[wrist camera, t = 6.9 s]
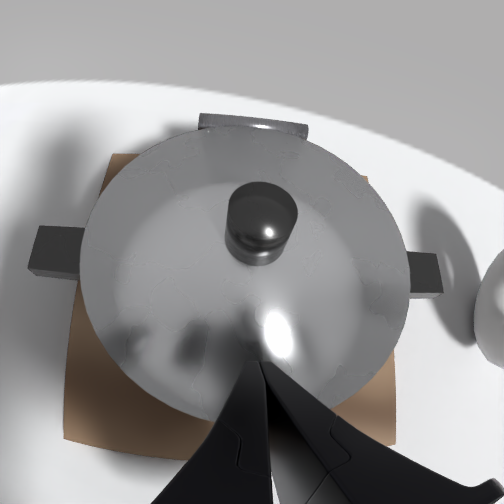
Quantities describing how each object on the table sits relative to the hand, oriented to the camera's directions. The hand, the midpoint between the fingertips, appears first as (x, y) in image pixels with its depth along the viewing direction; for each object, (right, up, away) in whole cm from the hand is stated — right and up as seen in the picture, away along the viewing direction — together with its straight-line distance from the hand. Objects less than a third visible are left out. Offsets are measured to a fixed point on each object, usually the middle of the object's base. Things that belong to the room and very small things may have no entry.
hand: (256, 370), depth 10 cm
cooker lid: (0, +4, +4) cm, 6 cm away
